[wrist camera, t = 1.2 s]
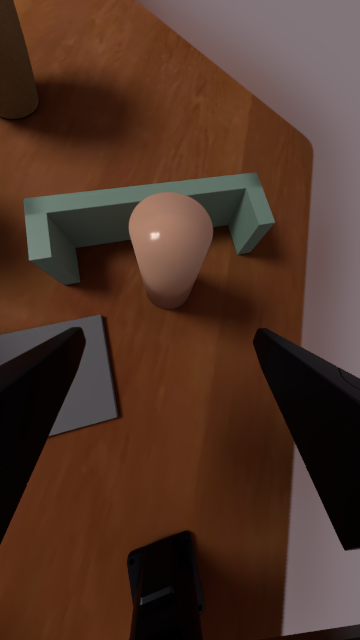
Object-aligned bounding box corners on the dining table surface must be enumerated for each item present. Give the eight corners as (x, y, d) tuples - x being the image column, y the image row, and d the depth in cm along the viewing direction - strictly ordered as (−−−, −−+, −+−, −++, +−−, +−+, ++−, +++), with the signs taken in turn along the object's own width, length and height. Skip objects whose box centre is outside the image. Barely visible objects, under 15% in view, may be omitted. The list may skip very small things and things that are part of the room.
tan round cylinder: (195, 304, 24) (222, 258, 12) (150, 313, 23) (137, 273, 12) (184, 264, 25) (201, 187, 13) (141, 271, 24) (121, 197, 13)
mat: (118, 415, 20) (116, 417, 20) (3, 447, 19) (-2, 450, 18) (102, 315, 22) (100, 314, 22) (-3, 336, 21) (-8, 336, 20)
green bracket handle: (250, 252, 26) (275, 222, 20) (64, 285, 23) (29, 260, 17) (236, 211, 27) (256, 172, 21) (58, 237, 24) (23, 198, 18)
